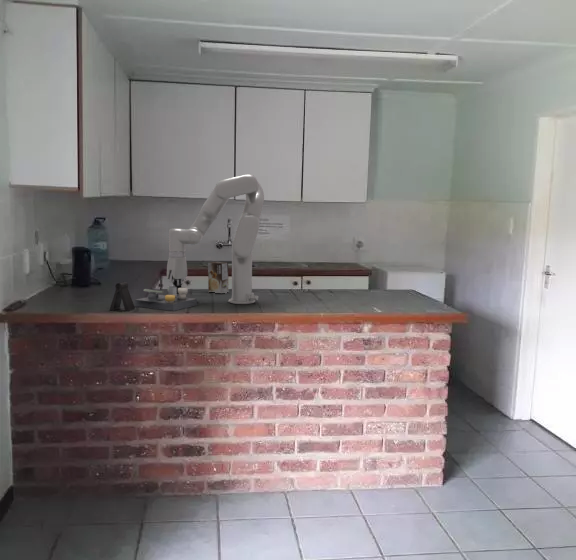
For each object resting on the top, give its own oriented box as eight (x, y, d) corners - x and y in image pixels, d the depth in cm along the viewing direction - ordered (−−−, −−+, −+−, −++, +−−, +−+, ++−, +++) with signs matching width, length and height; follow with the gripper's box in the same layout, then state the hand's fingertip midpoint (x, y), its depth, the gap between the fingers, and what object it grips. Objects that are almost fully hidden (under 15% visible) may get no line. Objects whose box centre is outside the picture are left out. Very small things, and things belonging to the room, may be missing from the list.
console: (196, 305, 273) (196, 295, 272) (173, 310, 258) (173, 301, 257) (159, 300, 283) (159, 291, 283) (134, 306, 268) (134, 296, 268)
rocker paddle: (163, 295, 276) (164, 291, 276) (150, 294, 268) (151, 289, 268) (155, 294, 278) (156, 290, 279) (142, 293, 270) (143, 288, 271)
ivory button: (189, 299, 272) (189, 288, 272) (183, 300, 268) (183, 289, 268) (181, 298, 274) (181, 287, 274) (175, 299, 270) (175, 288, 270)
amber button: (177, 306, 265) (177, 295, 264) (170, 308, 261) (170, 296, 260) (169, 305, 267) (169, 294, 266) (163, 307, 263) (162, 295, 262)
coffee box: (229, 292, 311) (229, 262, 308) (222, 294, 305) (222, 263, 303) (214, 291, 315) (214, 261, 313) (207, 293, 309) (207, 262, 307)
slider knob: (176, 296, 276) (176, 285, 275) (172, 297, 273) (172, 286, 273) (171, 295, 277) (171, 285, 277) (167, 296, 275) (167, 285, 274)
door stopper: (109, 310, 258) (108, 283, 256) (116, 307, 264) (115, 281, 262) (128, 311, 256) (128, 283, 254) (134, 308, 262) (134, 282, 260)
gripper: (181, 253, 285) (181, 291, 287) (160, 255, 272) (161, 295, 274) (193, 254, 281) (193, 292, 284) (173, 256, 268) (173, 296, 271)
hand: (177, 293), depth 279 cm, fingers closed
